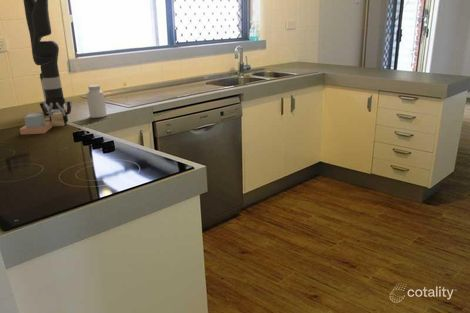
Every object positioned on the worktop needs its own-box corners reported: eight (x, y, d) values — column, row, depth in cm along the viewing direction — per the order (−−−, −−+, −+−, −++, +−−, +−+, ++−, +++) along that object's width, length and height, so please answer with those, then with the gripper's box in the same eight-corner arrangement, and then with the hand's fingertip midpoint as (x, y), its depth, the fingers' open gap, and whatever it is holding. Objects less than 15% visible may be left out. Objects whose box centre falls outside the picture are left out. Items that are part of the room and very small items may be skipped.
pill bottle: (108, 113, 209) (104, 83, 204) (104, 117, 202) (99, 87, 196) (92, 114, 209) (88, 84, 204) (87, 118, 201) (83, 87, 196)
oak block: (56, 123, 195) (54, 112, 194) (66, 122, 196) (65, 112, 194) (52, 126, 191) (50, 115, 189) (63, 125, 191) (61, 115, 189)
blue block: (31, 123, 186) (29, 113, 184) (45, 123, 186) (43, 113, 185) (26, 127, 180) (24, 117, 179) (40, 126, 181) (38, 116, 179)
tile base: (29, 128, 189) (28, 122, 188) (52, 126, 189) (51, 121, 188) (20, 134, 179) (19, 129, 178) (44, 133, 180) (43, 127, 179)
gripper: (71, 84, 191) (77, 120, 197) (39, 86, 190) (46, 122, 196) (66, 87, 184) (73, 124, 190) (33, 89, 183) (40, 126, 189)
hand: (59, 123), depth 193 cm, fingers closed on oak block, 5 cm apart
